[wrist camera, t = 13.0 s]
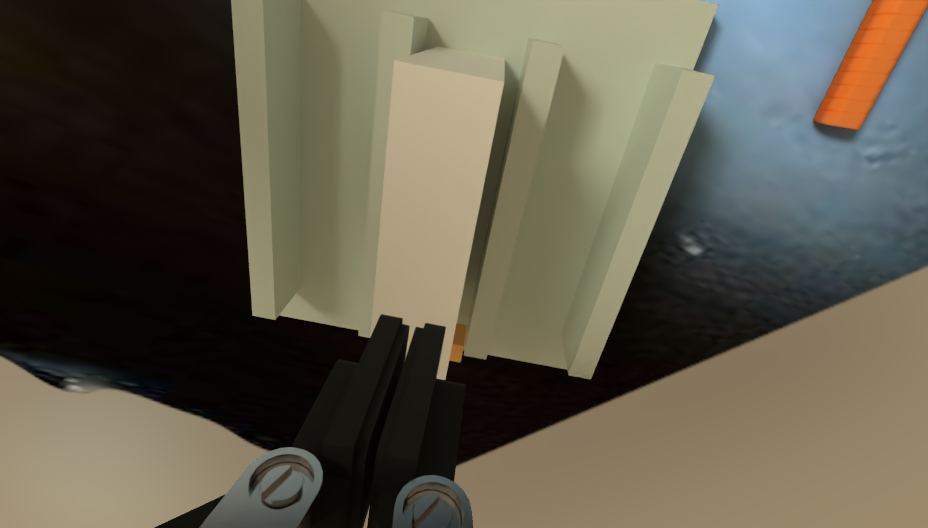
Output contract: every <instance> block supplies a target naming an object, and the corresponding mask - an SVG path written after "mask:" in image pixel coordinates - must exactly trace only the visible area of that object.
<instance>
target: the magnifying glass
mask: <svg viewBox="0 0 928 528" xmlns="http://www.w3.org/2000/svg"><path fill="white" fill-rule="evenodd" d="M927 6H928V0H873V1H872V3H871V5H870V7H869V9H868V11H867V13H866V15H865V17H864V19H863V21H862V22H861V24H860V27H859V29H858V31H857V33H856V34H855V36H854V38H853V40H852V43H851V45H850V47H849V48H848V50H847V52H846V55H845V57H844V59H843V61H842V62H841V65H840V67H839V69H838V71H837V73H836V74H835V76H834V79H833V81H832V83H831V85H830V87H829V89H828V90H827V92H826V95H825V97H824V99H823V101H822V103H821V105H820V107H819V109H818V111H817V112H816V114H815V117H814V121H815V122H818V123H821V124H825V125H830V126H835V127H841V128H846V129H852V130H859V129H860V128H861V126H862V124H863V123H864V121H865V119H866V117H867V115H868V113H869V111H870V110H871V108H872V106H873V105H874V102H875V100H876V98H877V97H878V95H879V94H880V92H881V90H882V87H883V86H884V84H885V82H886V81H887V79H888V77H889V75H890V73H891V71H892V70H893V68H894V66H895V64H896V62H897V60H898V58H899V57H900V55H901V53H902V51H903V50H904V48H905V46H906V44H907V42H908V41H909V39H910V37H911V35H912V33H913V31H914V30H915V28H916V26H917V24H918V23H919V21H920V19H921V16H922V15H923V13H924V12H925V10H926V8H927Z"/></svg>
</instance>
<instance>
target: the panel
mask: <svg viewBox="0 0 928 528" xmlns="http://www.w3.org/2000/svg"><path fill="white" fill-rule="evenodd" d="M504 76H505V59H501V58H496V57H491V56H486V55H481V54H475V53H470V52H465V51H460V50H455V49H449V48H444V47H439V46H438V47H435V48H432V49H428V50H425V51H422V52H419V53H416V54H413V55H410V56H407V57H404V58H400V59H397V60H394V66H393V77H392V89H391V101H390V112H389V124H388V136H387V147H386V159H385V171H384V182H383V194H382V206H381V218H380V229H379V241H378V253H377V264H376V276H375V288H374V299H373V311H372V323H371V334H370V337H371V335H372V333H373V330H374V328H375V326H376V324H377V322H378V319H379V317H380V315H381V314H383V315H389V316H394V317H399V318H402V319H403V324H405V325H409V326H410V328H409V336H408V343H407V350H406V356H407V353H408V350H409V346H410V343H411V340H412V337H413V334H414V331H415V328H416V327H420V328H424V325H425V323H429V324H434V325H439V326H445V327H446V330H445V336H444V341H443V346H442V352H441V357H440V362H439V367H438V373H437V378H436V379H442V380H445V379H446V374H447V369H448V364H449V359H450V354H451V349H452V344H453V338H454V333H455V328H456V323H457V318H458V313H459V308H460V303H461V298H462V293H463V288H464V283H465V278H466V273H467V268H468V263H469V258H470V253H471V248H472V243H473V238H474V233H475V228H476V223H477V217H478V212H479V207H480V202H481V197H482V192H483V187H484V182H485V177H486V172H487V167H488V162H489V157H490V152H491V147H492V142H493V137H494V132H495V127H496V122H497V117H498V112H499V107H500V102H501V96H502V91H503V86H504ZM405 359H406V357H405Z"/></svg>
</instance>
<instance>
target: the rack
mask: <svg viewBox="0 0 928 528" xmlns="http://www.w3.org/2000/svg"><path fill="white" fill-rule="evenodd" d="M718 5H719V4H714V3H709V2H703V1H698V0H231V7H232V22H233V36H234V51H235V65H236V80H237V95H238V109H239V124H240V139H241V153H242V168H243V183H244V197H245V212H246V227H247V241H248V256H249V271H250V285H251V300H252V314H253V316H257V317H263V318H268V319H273V320H276V318H277V317H278V316H279V315H280V316H285V317H291V318H296V319H301V320H307V321H312V322H317V323H323V324H328V325H333V326H338V327H344V328H349V329H354V330H359V333H358V336H363V337H369V338H370V334H371V323H372V311H373V299H374V288H375V276H376V264H377V253H378V241H379V229H380V218H381V206H382V194H383V182H384V171H385V159H386V147H387V136H388V124H389V112H390V101H391V89H392V77H393V66H394V60H397V59H400V58H404V57H407V56H410V55H413V54H416V53H419V52H422V51H425V50H428V49H432V48H435V47H438V46H439V47H444V48H449V49H455V50H460V51H465V52H470V53H475V54H481V55H486V56H491V57H496V58H501V59H505V76H504V86H503V91H502V96H501V102H500V107H499V112H498V117H497V122H496V127H495V132H494V137H493V142H492V147H491V152H490V157H489V162H488V167H487V172H486V177H485V182H484V187H483V192H482V197H481V202H480V207H479V212H478V217H477V223H476V228H475V233H474V238H473V243H472V248H471V253H470V258H469V263H468V268H467V273H466V278H465V283H464V288H463V293H462V298H461V303H460V308H459V313H458V318H457V323H456V328H455V333H454V338H453V344H452V349H451V354H450V359H449V360H450V361H455V362H461V358H462V353H463V350H464V356H469V357H475V358H480V359H485V360H486V358H487V355H492V356H497V357H503V358H508V359H513V360H519V361H524V362H529V363H535V364H540V365H545V366H550V367H556V368H561V369H566V370H568V375H570V376H576V377H581V378H586V379H591V378H592V375H593V373H594V370H595V368H596V366H597V363H598V361H599V358H600V356H601V353H602V351H603V348H604V346H605V344H606V341H607V339H608V336H609V334H610V331H611V329H612V327H613V324H614V322H615V319H616V317H617V314H618V312H619V309H620V307H621V305H622V302H623V300H624V297H625V295H626V292H627V290H628V287H629V285H630V283H631V280H632V278H633V275H634V273H635V270H636V268H637V266H638V263H639V261H640V258H641V256H642V253H643V251H644V248H645V246H646V244H647V241H648V239H649V236H650V234H651V231H652V229H653V226H654V224H655V222H656V219H657V217H658V214H659V212H660V209H661V207H662V205H663V202H664V200H665V197H666V195H667V192H668V190H669V187H670V185H671V183H672V180H673V178H674V175H675V173H676V170H677V168H678V165H679V163H680V161H681V158H682V156H683V153H684V151H685V148H686V146H687V144H688V141H689V139H690V136H691V134H692V131H693V129H694V126H695V124H696V122H697V119H698V117H699V114H700V112H701V109H702V107H703V104H704V102H705V100H706V97H707V95H708V92H709V90H710V87H711V85H712V83H713V80H714V78H715V76H714V75H710V74H706V73H702V72H698V71H693V70H694V67H695V64H696V62H697V59H698V57H699V54H700V51H701V49H702V46H703V44H704V41H705V38H706V36H707V33H708V31H709V28H710V25H711V23H712V20H713V18H714V15H715V12H716V10H717V7H718Z"/></svg>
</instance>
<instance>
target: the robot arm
mask: <svg viewBox="0 0 928 528" xmlns="http://www.w3.org/2000/svg"><path fill="white" fill-rule="evenodd" d="M409 328H410V326H409V325H405V324H403V319H402V318H399V317H394V316H389V315H383V314H381V315H380V317H379V319H378V322H377V324H376V326H375V328H374V330H373V333H372V335H371V337H370V339H369V341H368V344H367V346H366V348H365V350H364V352H363V355H362V357H361V359H360V361H359V363H355V362H350V361H345V360H340V359H339V360H338V361H337V362H336V363H335V365H334V367H333V369H332V371H331V373H330V374H329V376H328V378H327V380H326V382H325V384H324V386H323V388H322V390H321V392H320V393H319V395H318V397H317V399H316V401H315V403H314V405H313V407H312V409H311V411H310V413H309V414H308V416H307V418H306V420H305V422H304V424H303V426H302V428H301V430H300V432H299V434H298V435H297V437H296V439H295V441H294V443H293V445H292V447H289V448H279V449H276V450H273V451H270V452H267V453H265V454H264V455H262V456H260V457H259V458H257V459H256V460H255V461H254V462H253V463H252V464H251V465H249V466H248V467H247V469H246V470H245V471H244V472H243V473H242V475H241V476H240V477H239V479H238V480H237V481H236V482H235V484H234V485H233V486H232V487H231V489H230V490H229V491H228V492H227V494H225V495H223V496H221V497H219V498H217V499H215V500H213V501H210V502H208V503H206V504H204V505H202V506H200V507H198V508H196V509H193V510H191V511H189V512H187V513H185V514H183V515H180V516H178V517H176V518H174V519H172V520H170V521H168V522H165V523H163V524H161V525H159V526H157V527H155V528H363V526H364V522H365V519H366V516H367V512H368V509H369V506H370V509H369V518H368V526H367V528H473V520H472V510H471V506H470V502H469V499H468V498H467V496H466V494H465V492H464V491H463V490H462V489H461V488H460V487H459V486H458V485H457V484H456V483H455V482H454V476H455V468H456V460H457V452H458V444H459V436H460V428H461V420H462V412H463V404H464V396H465V387H466V384H462V383H457V382H452V381H447V380H442V379H436V378H437V373H438V367H439V362H440V357H441V352H442V346H443V341H444V336H445V330H446V327H445V326H439V325H434V324H429V323H425V325H424V328H420V327H416V328H415V331H414V334H413V337H412V340H411V343H410V346H409V350H408V353H407V356H406V350H407V343H408V336H409ZM405 357H406V359H405Z"/></svg>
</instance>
